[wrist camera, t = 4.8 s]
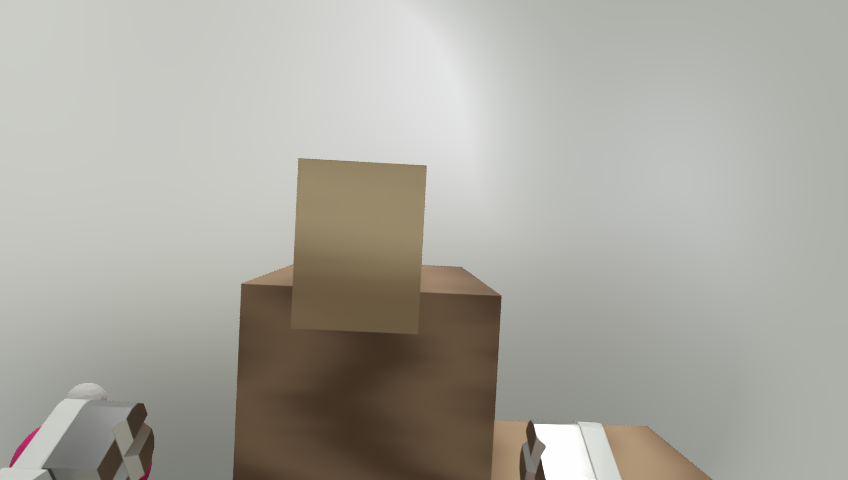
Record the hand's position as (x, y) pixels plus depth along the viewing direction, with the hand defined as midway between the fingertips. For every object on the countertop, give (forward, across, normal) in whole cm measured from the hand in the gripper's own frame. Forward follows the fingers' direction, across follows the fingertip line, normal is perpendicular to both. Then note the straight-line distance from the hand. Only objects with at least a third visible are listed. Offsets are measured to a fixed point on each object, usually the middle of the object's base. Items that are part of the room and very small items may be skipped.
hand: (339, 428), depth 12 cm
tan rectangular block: (+10, 0, +4) cm, 10 cm away
